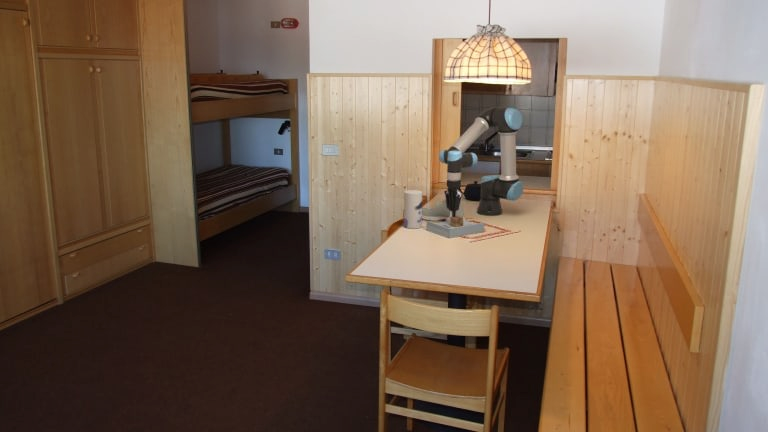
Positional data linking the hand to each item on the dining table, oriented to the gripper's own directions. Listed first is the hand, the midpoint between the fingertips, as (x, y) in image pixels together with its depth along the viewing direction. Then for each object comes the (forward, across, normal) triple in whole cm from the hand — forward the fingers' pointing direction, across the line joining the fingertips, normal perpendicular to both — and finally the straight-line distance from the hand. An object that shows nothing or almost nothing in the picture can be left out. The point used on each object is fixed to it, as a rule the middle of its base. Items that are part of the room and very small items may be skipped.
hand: (452, 222), depth 361 cm
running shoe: (+5, +22, -9) cm, 24 cm away
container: (+5, +18, +13) cm, 23 cm away
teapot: (+5, +55, -64) cm, 85 cm away
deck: (+5, -2, -1) cm, 5 cm away
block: (+2, -3, -1) cm, 4 cm away
